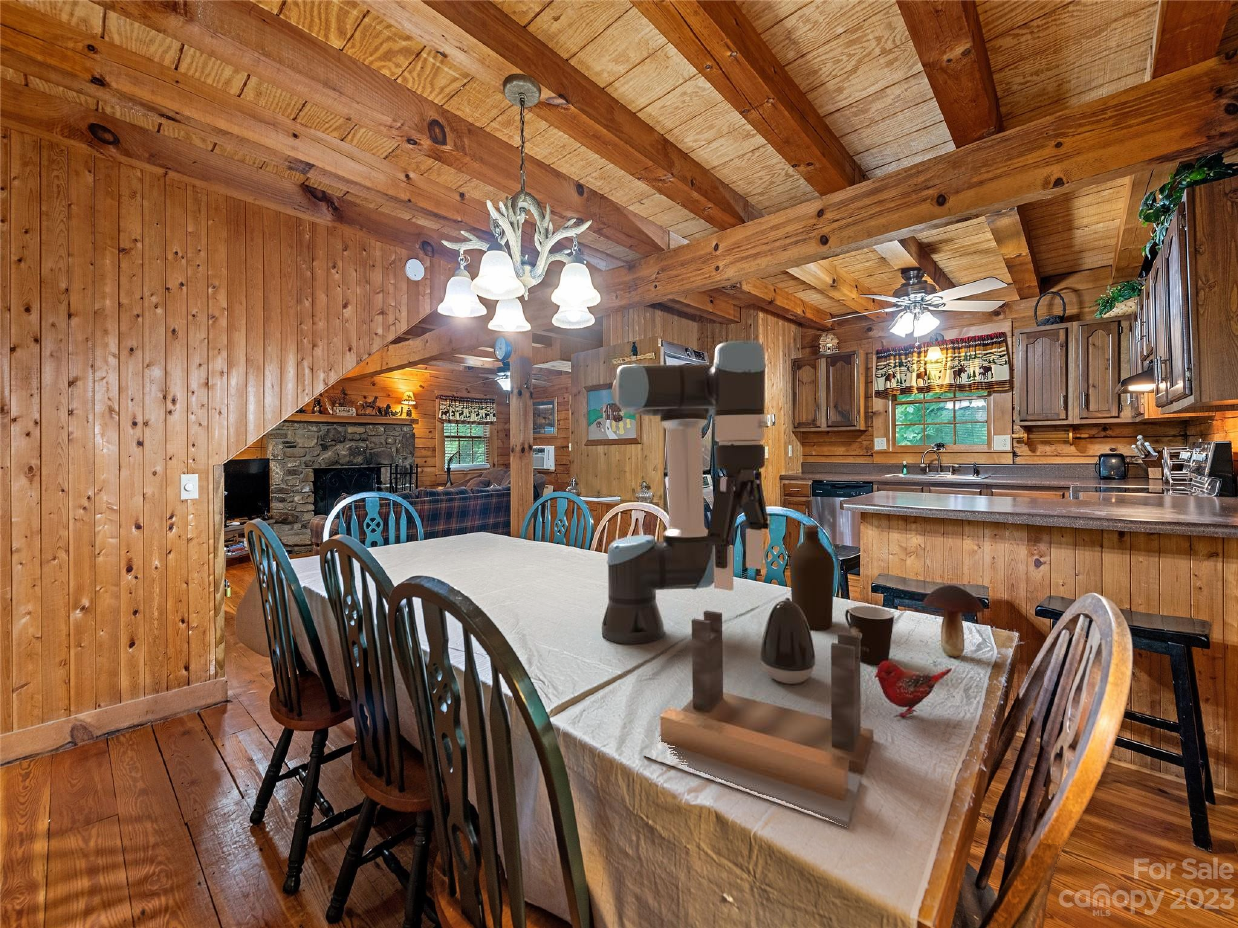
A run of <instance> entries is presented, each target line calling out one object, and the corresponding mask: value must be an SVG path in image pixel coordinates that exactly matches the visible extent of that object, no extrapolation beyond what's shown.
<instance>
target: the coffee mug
mask: <svg viewBox="0 0 1238 928" xmlns="http://www.w3.org/2000/svg"><path fill="white" fill-rule="evenodd" d="M844 613H845V614H844V618H845V621H846V622H847V623H846V624H847V626H848V627H849V629H850V631H851V633H850V634H854V635H860V664H861V663H862V664H865V665H869V666H876V667H877V666H878V667H879V665H880V663H882V662H883V661H889V658H890V651H891V645H892V644H891V642H892V636H893V627H894V621H895V613H894V612H893V611H891V610H889V609H886V608H883V607H879V606H872V605H871V606H870V605H856V606H852V607H849V608H847V609H846V610H845V612H844Z"/></svg>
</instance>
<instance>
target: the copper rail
mask: <svg viewBox="0 0 1238 928" xmlns="http://www.w3.org/2000/svg"><path fill="white" fill-rule="evenodd" d="M659 718H660V720H659V721H660V722H659V723H660V725H659V726H660V734H661V742H664V743H667V744H669V745H672V746H675V747H679V748H682V749H685V750H688V751H691V752H694V753H697V754H700V755H703V756H706V757H709V758H712V759H715V760H718V761H721V762H725V763H728V764H731V765H734V766H737V767H740V768H743V769H746V770H749V771H752V772H755V773H758V774H761V775H764V776H767V777H770V778H774V779H777V780H780V781H783V782H786V783H789V784H792V785H795V786H798V787H801V788H804V789H807V790H810V791H813V792H816V793H819V794H823V795H826V796H829V797H832V798H835V799H838V800H841V801H844V802H845V798H846V795H847V792H848V789H849V773H850V770H849V758H846V757H843V756H839V755H836V754H832V753H829V752H825V751H822V750H818V749H815V748H811V747H808V746H804V745H801V744H797V743H794V742H790V741H786V740H783V739H779V738H776V737H772V736H769V735H765V734H762V733H758V732H755V731H751V730H748V729H744V728H741V727H737V726H734V725H730V724H727V723H723V722H719V721H716V720H712V719H709V718H705V717H702V716H698V715H695V714H691V713H688V712H684V711H681V709H676V708H675V707H674V708H673V707H668V708H667V709H666V710H665V711H664V712H663V713H661V714H660V715H659Z"/></svg>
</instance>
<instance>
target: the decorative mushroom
mask: <svg viewBox="0 0 1238 928" xmlns="http://www.w3.org/2000/svg"><path fill="white" fill-rule="evenodd" d="M922 604H923V605H924V606H926V607H931V608H934V609H937V610H940V611H943V617H942V621H941V630H940V648H941V650H942V652H943V653H944V654H945V655H946V656H949V657H952V658H955V657H960V656H962V655H963V654H964V651H965V633H964V632H965V631H964V625H963V621H962V620H963V619H962V614H977V613H978V614H979V613H983V612H984V611H985V608H984V607H983V605H982V603H981V602H980V600H979V599H978V598H977V597H976V596H975V595H973V594H972V593H971V592H969V591H967V590H966V589H964V588H961V587H960V586H957V585H954V584H953V585H952V584H948V585H944V586H940V587H937V588H936V589H934V590H932V591H931V592H930V593H928V594H927V596H926V597H925V598H924V600H923V601H922Z"/></svg>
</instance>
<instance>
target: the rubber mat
mask: <svg viewBox="0 0 1238 928" xmlns="http://www.w3.org/2000/svg"><path fill="white" fill-rule="evenodd" d="M658 736H659V737H660V736H661V733H660V734H659V735H658ZM659 742H660V741H659ZM667 745H669V744H667ZM670 746H672V745H670ZM668 748H669V749H673V750H671V751H675V752H677V753H674V752H673V753H670V754H674V755H673V756H677V757H678V758H676V759H679V760H683V761H679V762H682V763H684V762H685V763H688V764H681V765H687V767H689V768H692V769H694V770H696V771H699V772H703V773H705V774H708V775H710V776H713V777H715V778H716V777H717V778H719V779H721V780H724V781H726V782H730V783H733V784H735V785H737V786H741V787H743V788H745V789H749V790H750V791H754V792H757V793H758V794H762V795H766V796H769V797H772V798H776V799H778V800H781V801H785V802H786V803H789V804H792V805H794V806H797V807H799V808H801V809H804V810H807V811H811V812H813V813H815V814H818V815H820V816H822V817H825V818H828V819H829V820H832V821H834V822H836V823H838V824H841V825H843V826H846V827H848V828H849V826H850V823H851V819H852V816H853V812H854V809H853V807H854V808H855V805H856V802H855V801H857V798H858V795H857V794H859V791H860V787H861V784H862V775H858V774H854V773H851V772H849V789H848V792H847V795H846V798H845V802H844V801H841V800H838V799H835V798H832V797H829V796H826V795H823V794H819V793H816V792H813V791H810V790H807V789H804V788H801V787H798V786H795V785H792V784H789V783H786V782H783V781H780V780H777V779H774V778H770V777H767V776H764V775H761V774H758V773H755V772H752V771H749V770H746V769H743V768H740V767H737V766H734V765H731V764H728V763H725V762H721V761H718V760H715V759H712V758H709V757H706V756H703V755H700V754H697V753H694V752H691V751H688V750H685V749H682V748H679V747H668ZM671 751H670V752H671ZM677 754H678V755H677ZM681 757H682V758H681ZM684 760H686V761H684ZM854 804H855V805H854ZM852 811H853V812H852ZM851 815H852V816H851ZM850 818H851V819H850ZM849 822H850V823H849ZM843 826H842V827H843Z"/></svg>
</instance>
